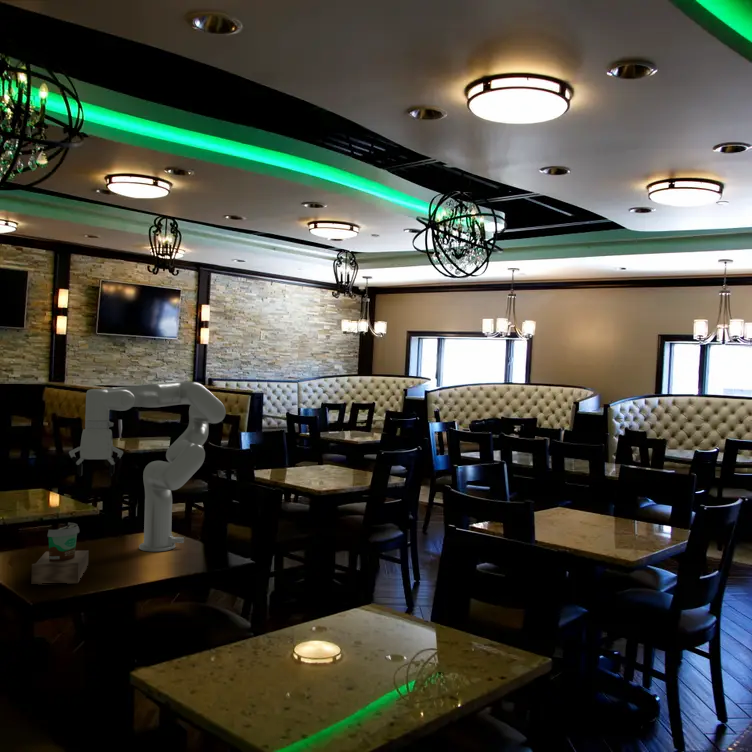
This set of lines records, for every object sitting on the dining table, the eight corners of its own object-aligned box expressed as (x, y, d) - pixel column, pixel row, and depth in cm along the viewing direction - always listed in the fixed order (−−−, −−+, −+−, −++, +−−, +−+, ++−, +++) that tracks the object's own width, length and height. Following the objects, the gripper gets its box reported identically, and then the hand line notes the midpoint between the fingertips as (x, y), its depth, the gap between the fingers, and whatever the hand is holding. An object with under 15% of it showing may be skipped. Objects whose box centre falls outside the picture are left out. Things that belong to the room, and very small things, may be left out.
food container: (65, 563, 222) (66, 531, 222) (46, 562, 223) (47, 530, 223) (86, 554, 235) (87, 523, 235) (68, 553, 235) (69, 522, 235)
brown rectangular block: (88, 565, 239) (88, 547, 239) (77, 583, 220) (78, 563, 220) (45, 566, 236) (45, 548, 236) (31, 584, 217) (31, 564, 217)
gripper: (125, 425, 253) (123, 474, 253) (71, 424, 249) (70, 474, 249) (122, 426, 246) (121, 477, 246) (67, 426, 242) (66, 477, 242)
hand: (95, 476), depth 247 cm, fingers open, 9 cm apart
